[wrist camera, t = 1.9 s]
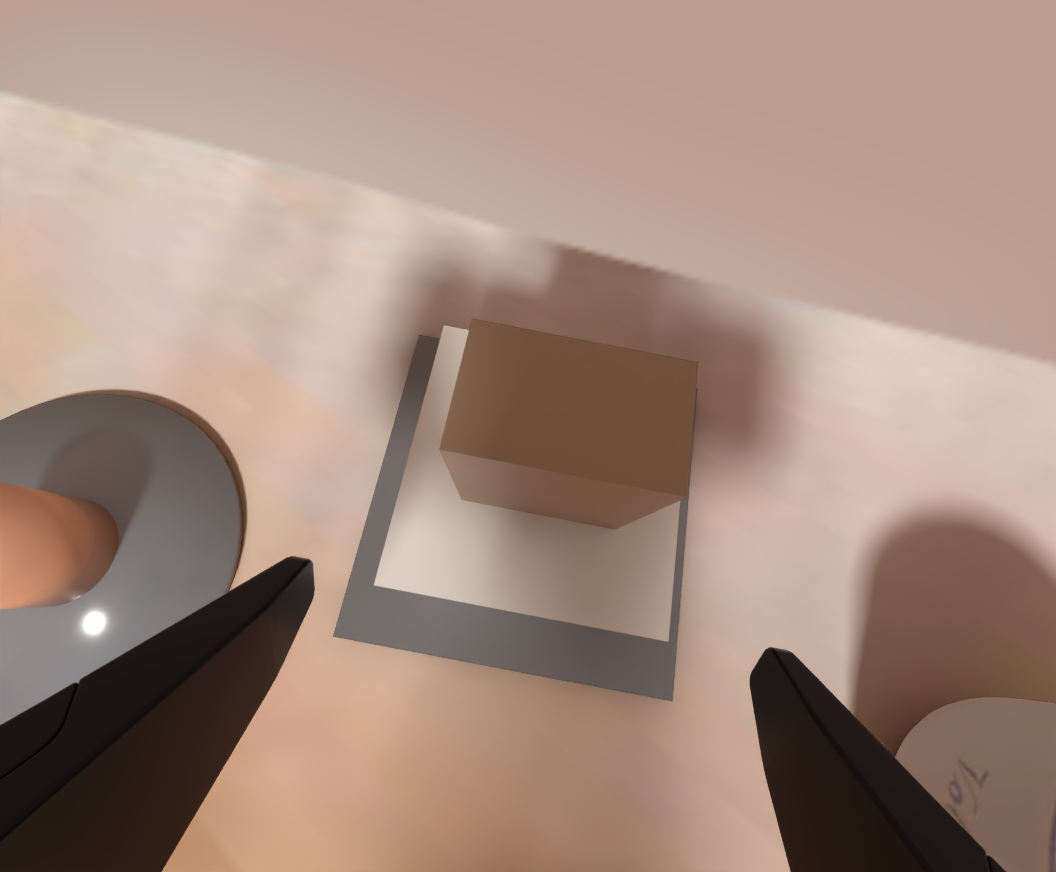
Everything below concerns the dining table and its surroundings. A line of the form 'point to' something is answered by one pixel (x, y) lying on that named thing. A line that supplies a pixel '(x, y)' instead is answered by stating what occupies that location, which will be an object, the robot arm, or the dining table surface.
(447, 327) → the white brown stepped block
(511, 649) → the mat
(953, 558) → the dining table surface
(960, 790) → the teacup
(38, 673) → the grey disc
